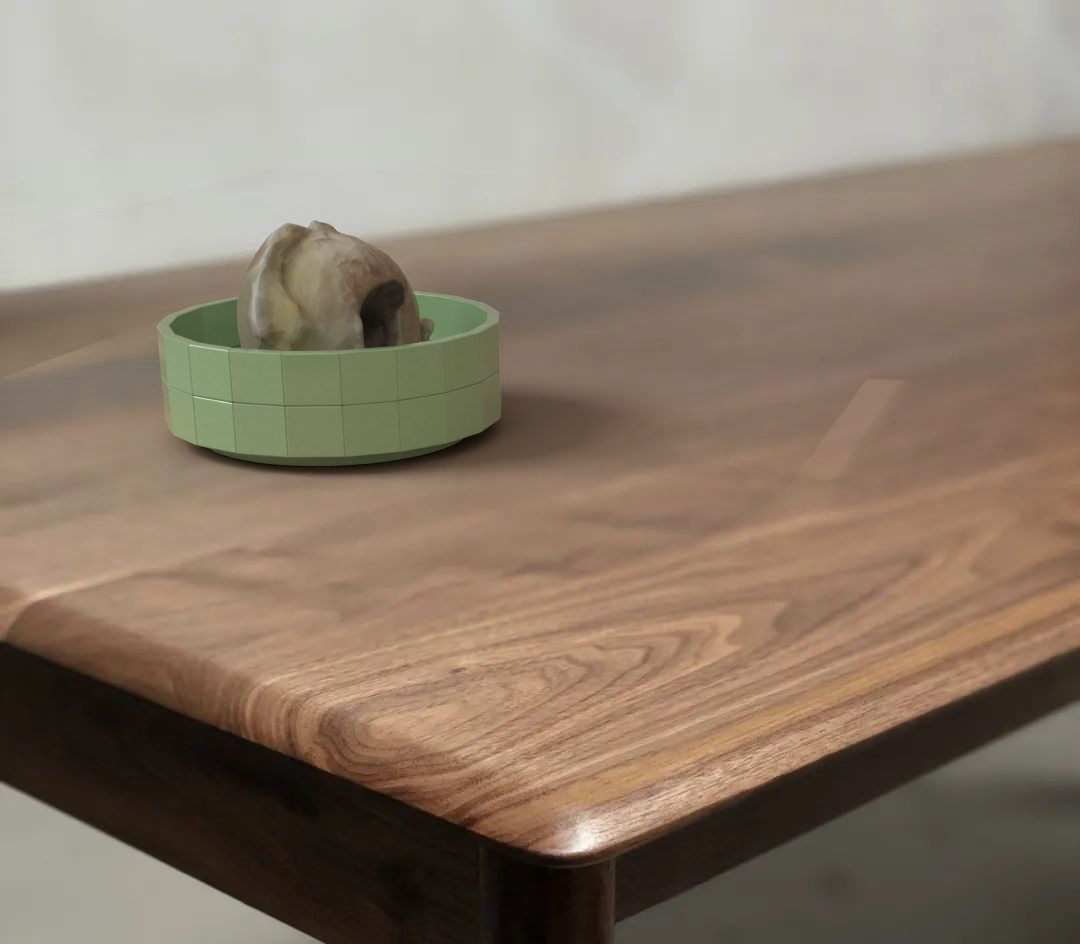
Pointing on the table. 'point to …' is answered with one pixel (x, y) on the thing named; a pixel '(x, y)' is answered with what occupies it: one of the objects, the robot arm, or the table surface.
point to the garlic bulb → (325, 295)
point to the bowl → (331, 388)
